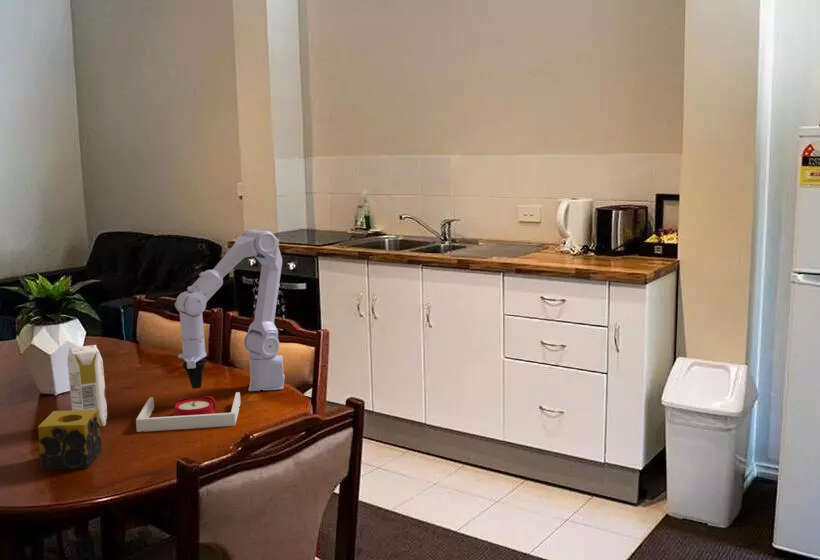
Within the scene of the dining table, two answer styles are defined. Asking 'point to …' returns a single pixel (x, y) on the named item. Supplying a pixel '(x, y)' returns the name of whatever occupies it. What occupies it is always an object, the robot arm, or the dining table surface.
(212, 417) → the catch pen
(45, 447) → the yellow patterned cube
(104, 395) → the juice carton
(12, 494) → the dining table surface
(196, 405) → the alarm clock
